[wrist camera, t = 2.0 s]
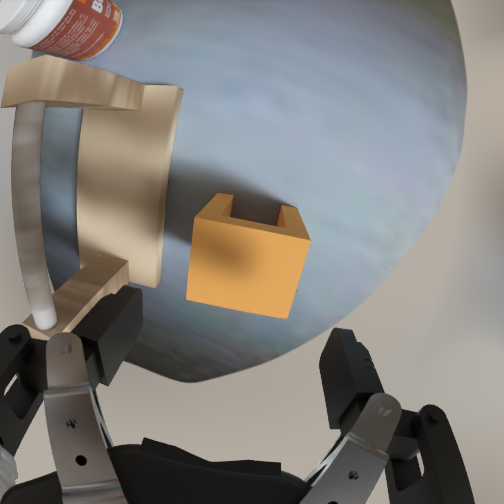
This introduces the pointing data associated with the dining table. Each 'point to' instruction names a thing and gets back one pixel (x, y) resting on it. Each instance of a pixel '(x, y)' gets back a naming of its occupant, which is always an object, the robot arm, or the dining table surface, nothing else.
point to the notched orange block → (246, 259)
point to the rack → (92, 183)
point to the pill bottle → (62, 25)
